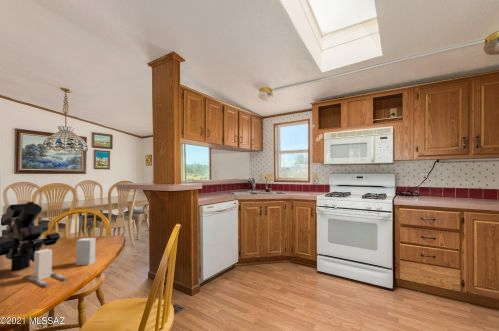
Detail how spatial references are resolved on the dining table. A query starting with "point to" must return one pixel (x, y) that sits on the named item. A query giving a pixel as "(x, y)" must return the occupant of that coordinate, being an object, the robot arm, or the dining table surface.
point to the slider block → (42, 264)
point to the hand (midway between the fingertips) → (35, 261)
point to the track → (43, 281)
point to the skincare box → (85, 251)
